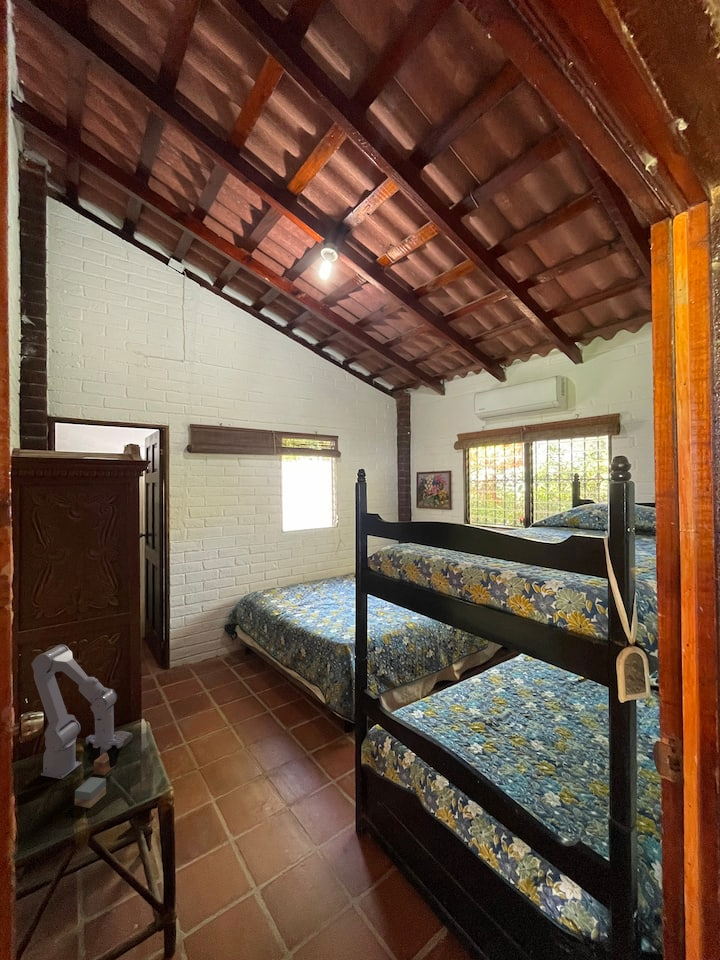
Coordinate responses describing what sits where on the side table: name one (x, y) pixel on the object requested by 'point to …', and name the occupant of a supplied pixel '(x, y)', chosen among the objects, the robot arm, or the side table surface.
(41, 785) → the side table surface
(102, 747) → the stone block
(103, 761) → the terracotta cube
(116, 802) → the side table surface
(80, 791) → the top block
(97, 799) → the brown block
